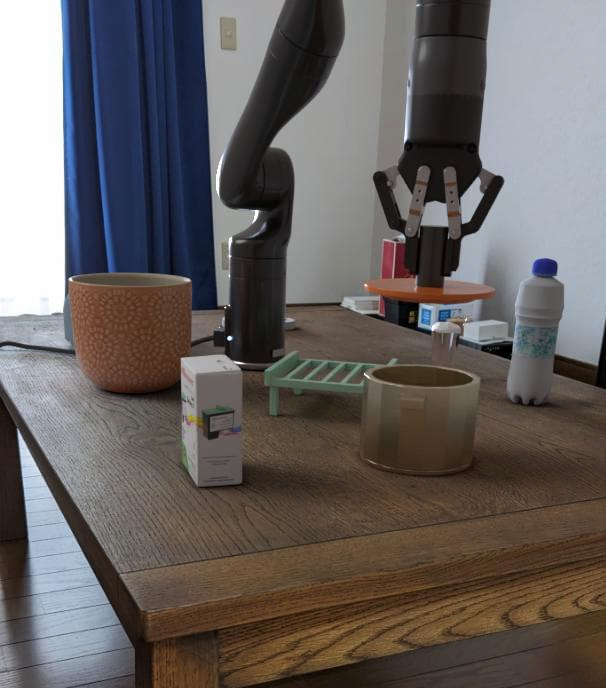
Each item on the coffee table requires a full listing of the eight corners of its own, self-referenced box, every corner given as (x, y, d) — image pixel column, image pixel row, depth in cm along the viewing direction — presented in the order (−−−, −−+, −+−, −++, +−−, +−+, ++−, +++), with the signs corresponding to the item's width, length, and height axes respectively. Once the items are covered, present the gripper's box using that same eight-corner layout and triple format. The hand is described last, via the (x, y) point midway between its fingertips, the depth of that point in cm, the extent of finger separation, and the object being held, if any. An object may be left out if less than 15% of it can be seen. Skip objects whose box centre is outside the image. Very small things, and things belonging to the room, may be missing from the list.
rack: (263, 415, 118) (264, 370, 116) (292, 391, 132) (293, 350, 129) (377, 426, 115) (380, 380, 112) (395, 400, 128) (398, 358, 126)
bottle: (552, 399, 132) (572, 257, 125) (548, 409, 126) (569, 261, 119) (506, 394, 134) (523, 255, 127) (500, 404, 128) (518, 258, 121)
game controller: (294, 325, 188) (294, 316, 188) (296, 335, 177) (296, 326, 176) (223, 323, 188) (223, 314, 187) (219, 334, 176) (219, 324, 175)
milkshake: (460, 384, 140) (467, 319, 136) (426, 382, 141) (431, 317, 137) (461, 378, 144) (468, 315, 140) (428, 376, 145) (433, 313, 141)
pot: (345, 476, 95) (350, 387, 92) (374, 433, 112) (379, 356, 108) (465, 488, 93) (474, 398, 89) (476, 443, 109) (484, 365, 105)
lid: (352, 301, 91) (356, 225, 88) (375, 286, 103) (379, 220, 100) (490, 310, 88) (499, 232, 85) (497, 294, 100) (504, 226, 98)
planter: (158, 405, 121) (154, 289, 115) (51, 391, 126) (42, 280, 121) (212, 381, 136) (212, 277, 130) (115, 370, 141) (110, 270, 136)
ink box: (180, 463, 98) (178, 354, 93) (225, 460, 99) (225, 353, 95) (196, 488, 90) (194, 371, 86) (243, 485, 92) (244, 370, 87)
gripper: (519, 97, 90) (499, 276, 97) (381, 95, 93) (370, 268, 100) (517, 91, 83) (496, 283, 90) (368, 88, 86) (358, 274, 93)
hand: (430, 274), depth 95 cm, fingers closed on lid, 3 cm apart
